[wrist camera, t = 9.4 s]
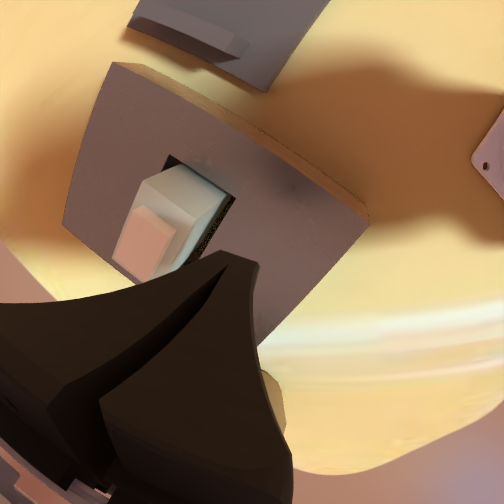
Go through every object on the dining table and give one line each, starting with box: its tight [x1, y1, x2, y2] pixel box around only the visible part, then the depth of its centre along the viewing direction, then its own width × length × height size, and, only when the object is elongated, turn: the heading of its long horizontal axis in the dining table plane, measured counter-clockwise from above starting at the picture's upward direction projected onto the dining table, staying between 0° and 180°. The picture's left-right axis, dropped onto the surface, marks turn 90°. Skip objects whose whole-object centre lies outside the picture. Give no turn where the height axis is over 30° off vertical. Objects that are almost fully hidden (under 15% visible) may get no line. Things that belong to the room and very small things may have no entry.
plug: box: [112, 163, 232, 283], centre depth 16 cm, size 3×5×7 cm, turn 147°
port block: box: [62, 62, 370, 347], centre depth 18 cm, size 16×12×3 cm
